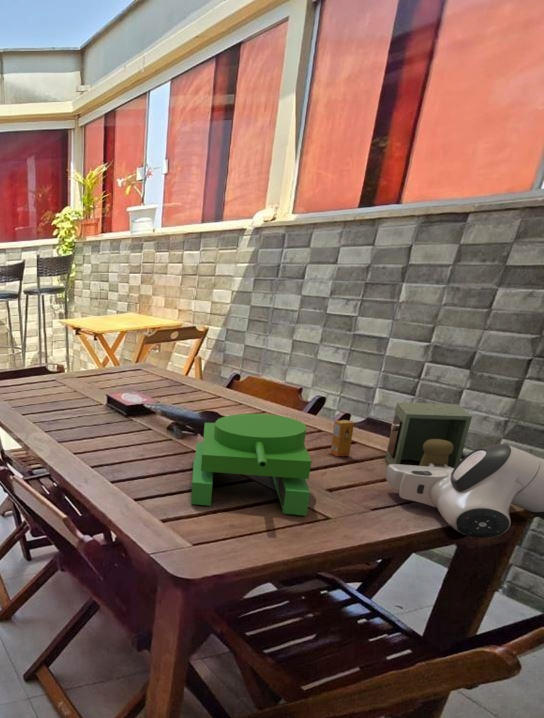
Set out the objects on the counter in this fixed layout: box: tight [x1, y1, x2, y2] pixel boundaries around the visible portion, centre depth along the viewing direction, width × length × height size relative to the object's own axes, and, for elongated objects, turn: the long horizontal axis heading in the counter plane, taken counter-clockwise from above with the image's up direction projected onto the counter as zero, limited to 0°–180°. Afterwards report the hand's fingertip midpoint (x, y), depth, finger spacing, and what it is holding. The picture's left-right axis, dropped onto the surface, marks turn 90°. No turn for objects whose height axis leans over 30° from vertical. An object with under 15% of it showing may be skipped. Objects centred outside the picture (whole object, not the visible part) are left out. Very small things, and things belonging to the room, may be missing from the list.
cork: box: [418, 439, 454, 466], centre depth 118 cm, size 6×6×11 cm
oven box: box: [385, 402, 473, 468], centre depth 126 cm, size 13×11×16 cm
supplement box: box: [330, 419, 355, 458], centre depth 139 cm, size 3×4×10 cm
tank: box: [190, 413, 312, 517], centre depth 124 cm, size 24×35×16 cm
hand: (436, 466), depth 117 cm, fingers closed, pressing on cork
